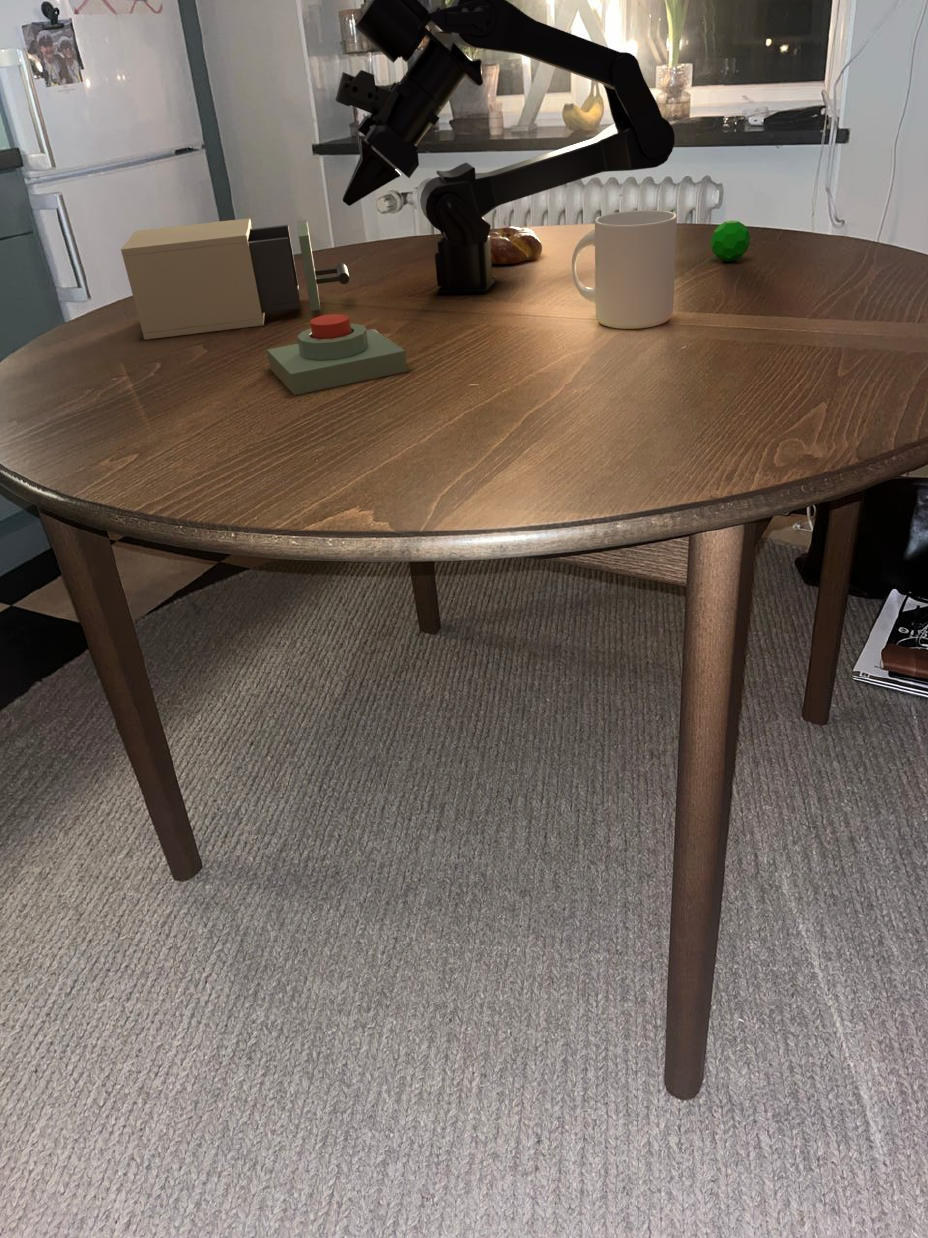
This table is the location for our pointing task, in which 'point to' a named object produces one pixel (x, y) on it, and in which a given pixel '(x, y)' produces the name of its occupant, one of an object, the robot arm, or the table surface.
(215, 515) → the table surface
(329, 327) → the button
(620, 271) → the mug
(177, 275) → the tan box with sleeve
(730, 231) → the polyhedron
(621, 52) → the robot arm
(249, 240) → the drawer
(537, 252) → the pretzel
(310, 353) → the control block
